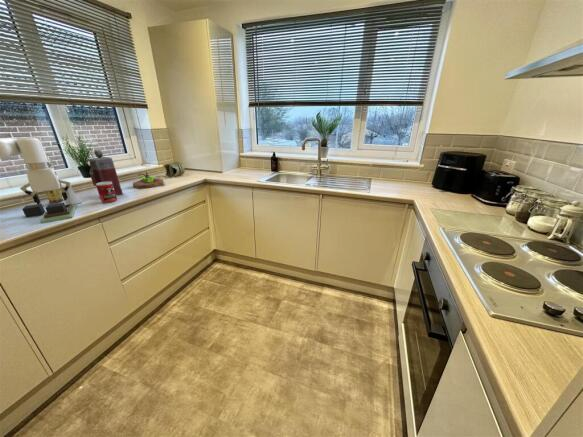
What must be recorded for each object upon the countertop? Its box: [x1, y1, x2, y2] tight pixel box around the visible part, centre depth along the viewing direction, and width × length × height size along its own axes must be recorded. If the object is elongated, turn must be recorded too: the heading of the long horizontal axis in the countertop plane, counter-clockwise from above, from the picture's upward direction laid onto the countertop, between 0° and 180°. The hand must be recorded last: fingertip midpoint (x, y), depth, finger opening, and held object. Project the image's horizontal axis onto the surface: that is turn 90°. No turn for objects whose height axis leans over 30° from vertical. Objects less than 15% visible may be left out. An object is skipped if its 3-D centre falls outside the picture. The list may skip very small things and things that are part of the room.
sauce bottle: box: [44, 189, 64, 204], centre depth 138 cm, size 7×6×20 cm
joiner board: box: [40, 204, 78, 224], centre depth 121 cm, size 11×22×3 cm, turn 35°
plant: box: [132, 169, 165, 190], centre depth 174 cm, size 20×20×11 cm
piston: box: [163, 161, 186, 179], centre depth 201 cm, size 11×12×11 cm
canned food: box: [95, 181, 118, 204], centre depth 138 cm, size 8×8×11 cm
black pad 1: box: [22, 203, 46, 219], centre depth 121 cm, size 6×6×4 cm
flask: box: [63, 185, 83, 205], centre depth 137 cm, size 7×7×10 cm
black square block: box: [45, 202, 67, 214], centre depth 118 cm, size 6×6×4 cm
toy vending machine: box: [88, 149, 124, 197], centre depth 147 cm, size 9×11×28 cm
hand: (52, 201), depth 116 cm, fingers open, 9 cm apart
